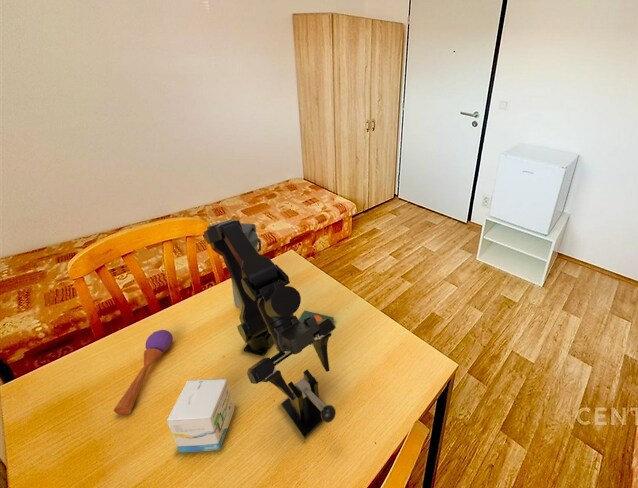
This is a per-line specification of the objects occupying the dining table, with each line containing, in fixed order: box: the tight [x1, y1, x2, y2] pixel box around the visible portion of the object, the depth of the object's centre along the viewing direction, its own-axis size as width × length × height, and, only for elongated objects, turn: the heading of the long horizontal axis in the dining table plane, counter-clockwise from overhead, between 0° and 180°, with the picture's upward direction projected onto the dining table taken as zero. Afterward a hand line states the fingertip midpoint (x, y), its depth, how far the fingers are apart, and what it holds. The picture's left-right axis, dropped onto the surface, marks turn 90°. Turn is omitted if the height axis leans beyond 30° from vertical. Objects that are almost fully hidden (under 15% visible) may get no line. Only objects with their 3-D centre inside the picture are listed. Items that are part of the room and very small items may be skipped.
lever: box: [294, 377, 337, 424], centre depth 68 cm, size 13×3×3 cm, turn 47°
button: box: [314, 315, 322, 322], centre depth 94 cm, size 4×4×2 cm
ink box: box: [166, 378, 235, 454], centre depth 69 cm, size 8×8×12 cm
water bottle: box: [230, 222, 262, 310], centre depth 100 cm, size 10×10×28 cm
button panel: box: [298, 309, 335, 324], centre depth 96 cm, size 10×8×4 cm
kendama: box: [113, 329, 174, 415], centre depth 80 cm, size 6×6×20 cm
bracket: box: [281, 369, 325, 440], centre depth 74 cm, size 10×7×11 cm
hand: (311, 385), depth 68 cm, fingers open, 8 cm apart
